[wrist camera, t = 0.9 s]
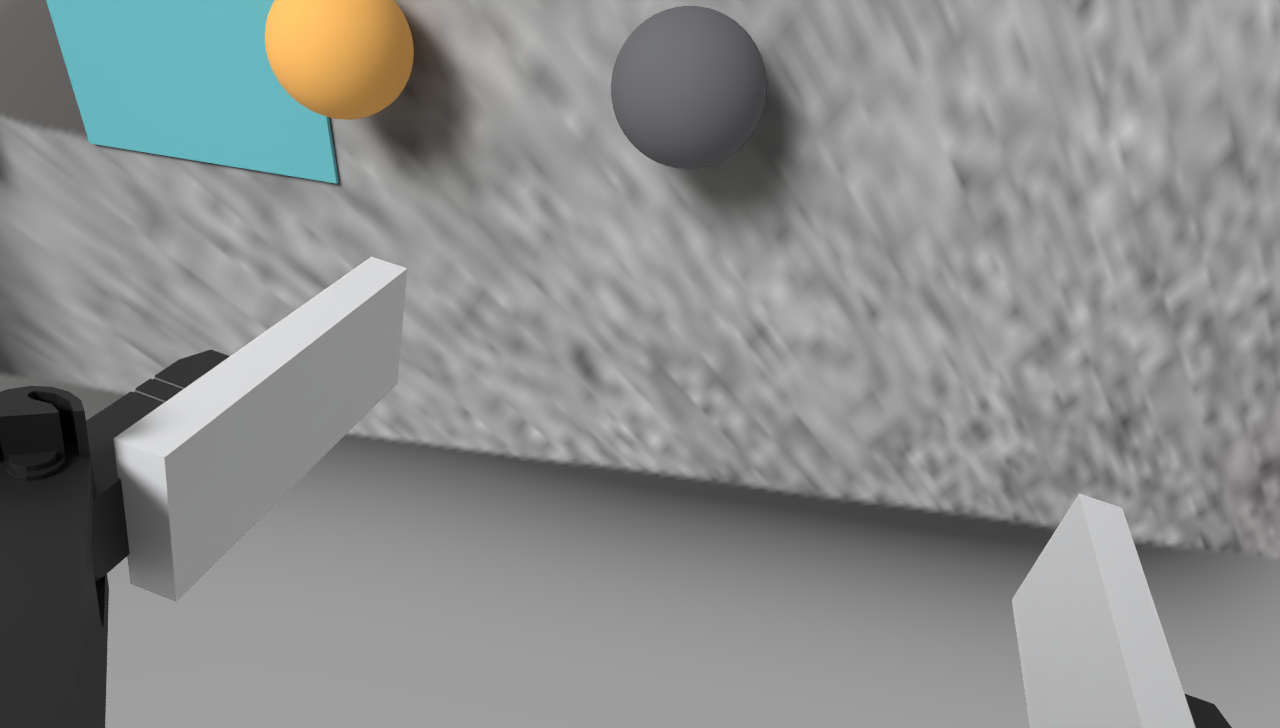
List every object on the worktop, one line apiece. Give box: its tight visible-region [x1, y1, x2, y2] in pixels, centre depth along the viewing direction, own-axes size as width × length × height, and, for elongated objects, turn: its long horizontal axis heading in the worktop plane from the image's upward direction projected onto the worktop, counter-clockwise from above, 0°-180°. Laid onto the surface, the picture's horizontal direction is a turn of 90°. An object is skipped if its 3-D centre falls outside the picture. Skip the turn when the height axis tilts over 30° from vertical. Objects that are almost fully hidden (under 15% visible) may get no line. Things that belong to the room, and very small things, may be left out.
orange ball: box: [265, 0, 414, 120], centre depth 35 cm, size 6×6×6 cm
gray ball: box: [611, 6, 767, 169], centre depth 31 cm, size 6×6×6 cm
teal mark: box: [46, 0, 339, 184], centre depth 39 cm, size 14×14×1 cm
